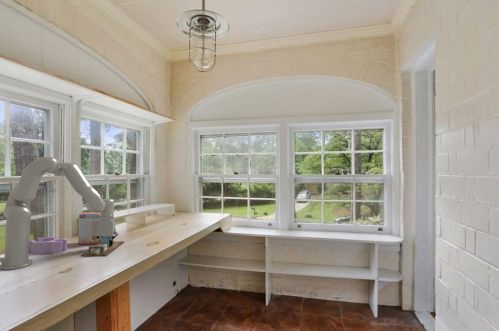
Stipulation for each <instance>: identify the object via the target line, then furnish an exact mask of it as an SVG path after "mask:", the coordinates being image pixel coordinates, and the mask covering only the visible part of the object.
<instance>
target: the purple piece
mask: <svg viewBox="0 0 499 331" xmlns="http://www.w3.org/2000/svg"><path fill="white" fill-rule="evenodd" d="M66 251H68V239H67V238H58V237H56V236H55V237H53V236H48V237H38V238H37V241H36V240H35V239H34V240H33V239H31V240H30V239H29V253H31V254H32V253H33V255H41V254H42V255H43V253H44V254H53V253H56V254H61V252H62V253H63V252H66Z"/></svg>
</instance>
